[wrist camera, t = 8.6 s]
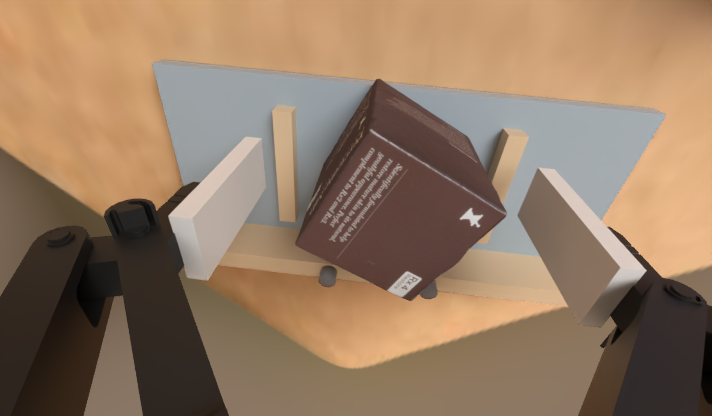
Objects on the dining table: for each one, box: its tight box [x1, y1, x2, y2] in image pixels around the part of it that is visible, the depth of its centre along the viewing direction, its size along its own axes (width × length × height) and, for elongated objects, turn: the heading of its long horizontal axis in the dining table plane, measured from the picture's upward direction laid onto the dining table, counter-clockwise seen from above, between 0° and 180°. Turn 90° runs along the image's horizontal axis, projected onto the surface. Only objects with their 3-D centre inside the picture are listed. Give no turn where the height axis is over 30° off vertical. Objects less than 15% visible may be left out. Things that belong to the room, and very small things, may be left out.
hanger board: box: [152, 60, 666, 307], centre depth 18 cm, size 11×26×5 cm, turn 86°
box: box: [295, 79, 507, 301], centre depth 15 cm, size 6×6×7 cm
